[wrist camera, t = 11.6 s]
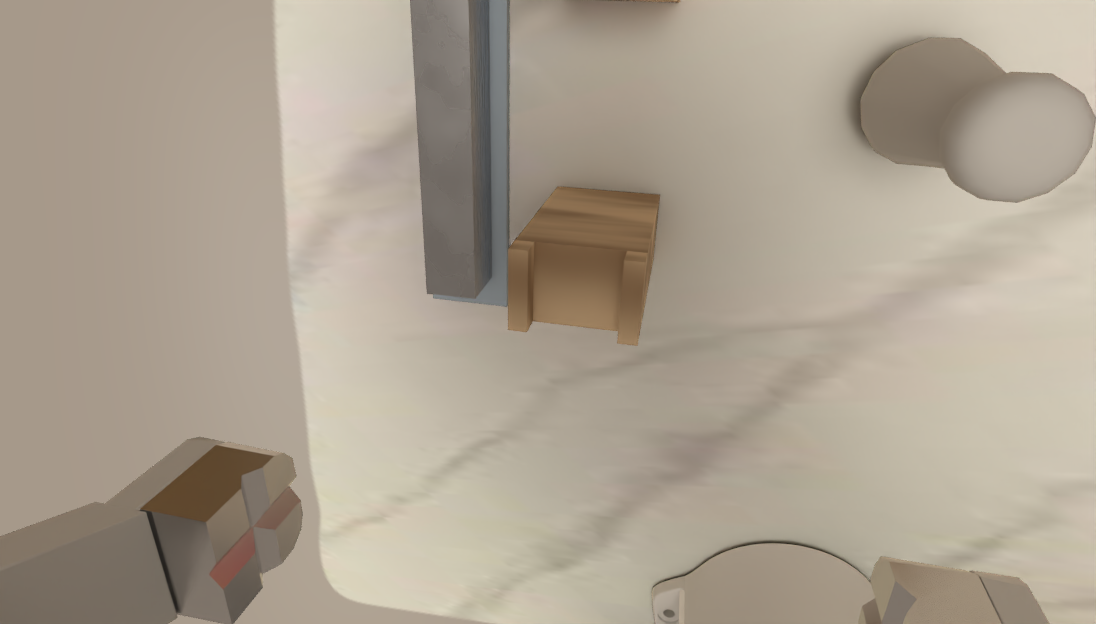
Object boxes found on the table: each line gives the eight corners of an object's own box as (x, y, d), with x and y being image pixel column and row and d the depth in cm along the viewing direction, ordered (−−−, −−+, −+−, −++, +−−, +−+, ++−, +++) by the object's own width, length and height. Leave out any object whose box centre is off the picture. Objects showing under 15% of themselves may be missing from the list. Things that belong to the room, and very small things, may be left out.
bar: (492, 277, 41) (475, 299, 38) (447, 272, 42) (426, 293, 39) (487, -139, 32) (465, -155, 29) (429, -138, 32) (401, -154, 29)
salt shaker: (864, 171, 34) (947, 253, 23) (836, 66, 33) (910, 97, 21) (988, 129, 32) (1147, 195, 21) (965, 14, 31) (1125, 17, 19)
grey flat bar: (508, 303, 42) (506, 306, 42) (436, 295, 43) (433, 298, 43) (509, -188, 31) (506, -191, 31) (411, -186, 32) (407, -189, 32)
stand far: (653, 260, 39) (637, 345, 29) (555, 250, 40) (508, 329, 30) (660, 194, 37) (645, 262, 27) (557, 186, 38) (508, 248, 28)
